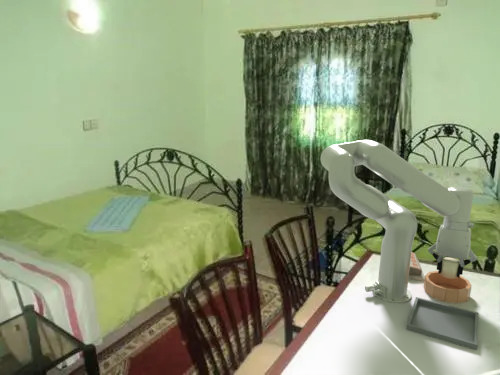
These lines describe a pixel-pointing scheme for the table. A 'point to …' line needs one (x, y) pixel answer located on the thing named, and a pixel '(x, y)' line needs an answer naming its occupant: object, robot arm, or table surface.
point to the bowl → (447, 288)
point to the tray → (444, 322)
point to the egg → (449, 267)
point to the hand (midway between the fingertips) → (449, 273)
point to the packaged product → (415, 269)
